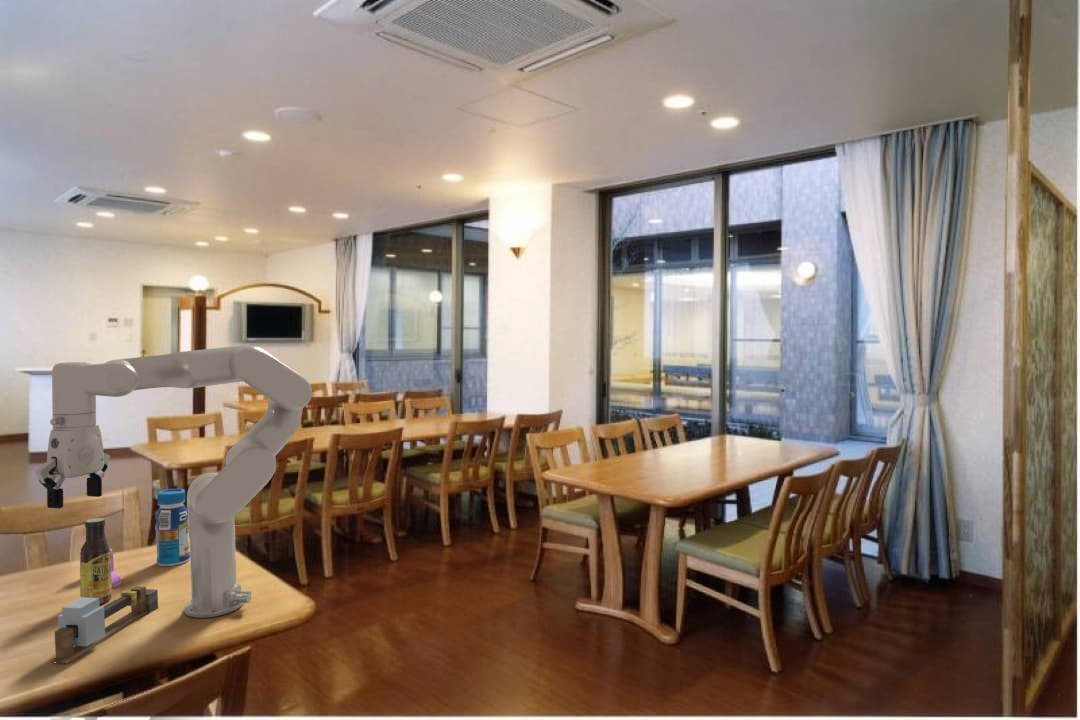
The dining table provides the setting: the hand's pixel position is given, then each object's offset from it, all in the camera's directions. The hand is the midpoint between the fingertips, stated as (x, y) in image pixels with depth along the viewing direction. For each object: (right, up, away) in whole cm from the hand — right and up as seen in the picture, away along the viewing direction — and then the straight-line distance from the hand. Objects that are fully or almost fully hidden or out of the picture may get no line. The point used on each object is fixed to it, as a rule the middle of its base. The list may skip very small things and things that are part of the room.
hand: (75, 501), depth 142 cm
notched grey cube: (+4, -27, -4) cm, 28 cm away
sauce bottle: (-8, -28, +20) cm, 35 cm away
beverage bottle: (-4, -27, +46) cm, 54 cm away
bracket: (-15, -28, +32) cm, 45 cm away
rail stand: (+5, -29, +3) cm, 30 cm away
